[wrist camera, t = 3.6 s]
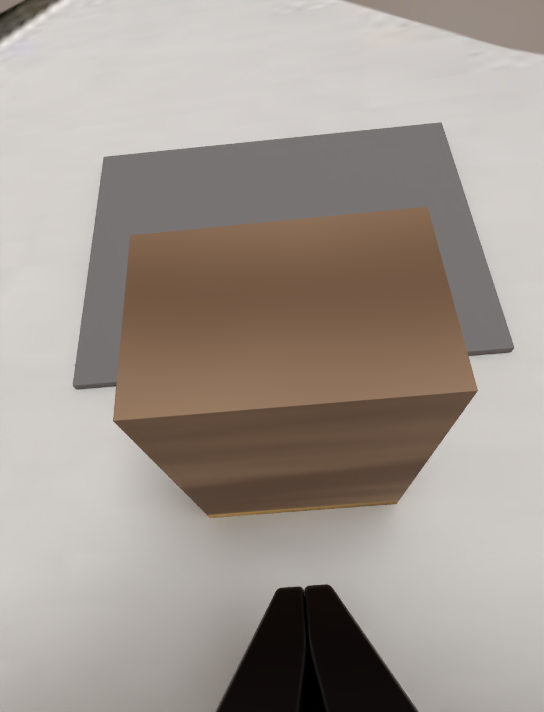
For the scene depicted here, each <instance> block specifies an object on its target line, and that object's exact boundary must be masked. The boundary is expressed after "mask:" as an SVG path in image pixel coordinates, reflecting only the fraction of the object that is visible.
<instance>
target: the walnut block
mask: <svg viewBox="0 0 544 712" xmlns="http://www.w3.org/2000/svg"><path fill="white" fill-rule="evenodd" d="M477 391H478V390H477V386H476V382H475V379H474V375H473V371H472V368H471V364H470V360H469V357H468V353H467V349H466V346H465V342H464V338H463V335H462V331H461V327H460V324H459V320H458V316H457V313H456V309H455V305H454V302H453V298H452V294H451V291H450V287H449V283H448V280H447V276H446V272H445V269H444V265H443V261H442V258H441V254H440V250H439V247H438V243H437V239H436V236H435V232H434V228H433V225H432V221H431V217H430V214H429V210H428V207H419V208H409V209H398V210H388V211H378V212H367V213H357V214H346V215H336V216H325V217H315V218H304V219H294V220H284V221H273V222H263V223H252V224H242V225H231V226H221V227H210V228H200V229H190V230H179V231H169V232H158V233H148V234H137V235H130V242H129V253H128V264H127V275H126V286H125V297H124V308H123V319H122V330H121V341H120V351H119V362H118V373H117V384H116V395H115V406H114V417H113V421H114V422H115V423H116V424H117V425H118V426H119V427H120V428H121V429H122V430H123V431H124V432H125V433H126V434H127V435H128V436H129V437H130V438H131V439H132V440H133V441H134V442H135V443H136V444H137V445H138V446H139V447H140V448H141V449H142V450H143V451H144V452H145V453H146V454H147V455H148V456H149V457H150V458H151V459H152V460H153V461H154V462H155V463H156V464H157V465H158V466H159V467H160V468H161V469H162V470H163V471H164V472H165V473H166V474H167V475H168V476H169V477H170V478H171V479H172V480H173V481H174V482H175V483H176V484H177V485H178V486H179V487H180V488H181V489H182V490H183V491H184V492H185V493H186V494H187V495H188V496H189V497H190V498H191V499H192V500H193V501H194V502H195V503H196V504H197V505H198V506H199V507H200V508H201V509H202V510H203V511H204V512H205V513H206V514H207V515H208V516H209V517H210V518H214V517H228V516H241V515H254V514H267V513H281V512H294V511H307V510H320V509H334V508H347V507H360V506H373V505H387V504H397V502H398V501H399V500H400V498H401V497H402V495H403V494H404V493H405V491H406V490H407V488H408V487H409V486H410V484H411V483H412V481H413V480H414V479H415V477H416V476H417V475H418V473H419V472H420V470H421V469H422V468H423V466H424V465H425V463H426V462H427V461H428V459H429V458H430V456H431V455H432V454H433V452H434V451H435V450H436V448H437V447H438V445H439V444H440V443H441V441H442V440H443V438H444V437H445V436H446V434H447V433H448V431H449V430H450V429H451V427H452V426H453V424H454V423H455V422H456V420H457V419H458V418H459V416H460V415H461V413H462V412H463V411H464V409H465V408H466V406H467V405H468V404H469V402H470V401H471V399H472V398H473V397H474V395H475V394H476V392H477Z"/></svg>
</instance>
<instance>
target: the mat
mask: <svg viewBox="0 0 544 712" xmlns="http://www.w3.org/2000/svg"><path fill="white" fill-rule="evenodd" d="M419 207H428V210H429V214H430V217H431V221H432V225H433V228H434V232H435V236H436V239H437V243H438V247H439V250H440V254H441V258H442V261H443V265H444V269H445V272H446V276H447V280H448V283H449V287H450V291H451V294H452V298H453V302H454V305H455V309H456V313H457V316H458V320H459V324H460V327H461V331H462V335H463V338H464V342H465V346H466V349H467V353H468V355H479V354H491V353H502V352H512V350H513V349H514V345H513V342H512V339H511V336H510V333H509V330H508V327H507V324H506V320H505V317H504V314H503V311H502V308H501V305H500V302H499V299H498V296H497V293H496V290H495V286H494V283H493V280H492V277H491V274H490V271H489V268H488V265H487V262H486V259H485V256H484V253H483V249H482V246H481V243H480V240H479V237H478V234H477V231H476V228H475V225H474V222H473V219H472V215H471V212H470V209H469V206H468V203H467V200H466V197H465V194H464V191H463V188H462V185H461V181H460V178H459V175H458V172H457V169H456V166H455V163H454V160H453V157H452V154H451V151H450V147H449V144H448V141H447V138H446V135H445V132H444V129H443V126H442V123H432V124H422V125H412V126H402V127H393V128H383V129H373V130H363V131H353V132H344V133H334V134H324V135H314V136H304V137H295V138H285V139H275V140H265V141H255V142H246V143H236V144H226V145H216V146H206V147H197V148H187V149H177V150H167V151H157V152H148V153H138V154H128V155H118V156H108V157H104V159H103V166H102V174H101V181H100V188H99V196H98V203H97V211H96V218H95V225H94V233H93V240H92V247H91V255H90V262H89V270H88V277H87V284H86V292H85V299H84V306H83V314H82V321H81V328H80V336H79V343H78V351H77V358H76V365H75V373H74V380H73V386H74V387H75V388H76V389H82V388H94V387H105V386H116V384H117V373H118V362H119V351H120V341H121V330H122V319H123V308H124V297H125V286H126V275H127V264H128V253H129V242H130V235H137V234H148V233H158V232H169V231H179V230H190V229H200V228H210V227H221V226H231V225H242V224H252V223H263V222H273V221H284V220H294V219H304V218H315V217H325V216H336V215H346V214H357V213H367V212H378V211H388V210H398V209H409V208H419Z"/></svg>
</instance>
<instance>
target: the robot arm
mask: <svg viewBox="0 0 544 712" xmlns="http://www.w3.org/2000/svg"><path fill="white" fill-rule="evenodd" d="M304 594H305V596H304ZM216 712H418V710H417V709H416V707H415V706H414V704H413V703H412V702H411V700H410V699H409V697H408V696H407V694H406V693H405V692H404V690H403V689H402V687H401V686H400V684H399V683H398V681H397V680H396V679H395V677H394V676H393V674H392V673H391V671H390V670H389V669H388V667H387V666H386V664H385V663H384V661H383V660H382V658H381V657H380V656H379V654H378V653H377V651H376V650H375V648H374V647H373V645H372V644H371V643H370V641H369V640H368V638H367V637H366V635H365V634H364V633H363V631H362V630H361V628H360V627H359V625H358V624H357V622H356V621H355V620H354V618H353V617H352V615H351V614H350V612H349V611H348V610H347V608H346V607H345V605H344V604H343V602H342V601H341V599H340V598H339V597H338V595H337V594H336V592H335V591H334V589H333V588H332V587H331V586H330V585H312V586H307V587H306V588H305V590H303V588H302V587H285V588H279V589H278V590H277V591H276V592H275V594H274V596H273V598H272V600H271V602H270V604H269V606H268V608H267V610H266V612H265V614H264V616H263V618H262V620H261V622H260V624H259V626H258V628H257V630H256V632H255V634H254V636H253V638H252V640H251V642H250V644H249V646H248V648H247V650H246V652H245V654H244V656H243V658H242V660H241V662H240V664H239V666H238V668H237V670H236V672H235V674H234V676H233V678H232V680H231V682H230V684H229V686H228V688H227V690H226V692H225V694H224V696H223V698H222V700H221V702H220V704H219V706H218V708H217V710H216Z"/></svg>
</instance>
